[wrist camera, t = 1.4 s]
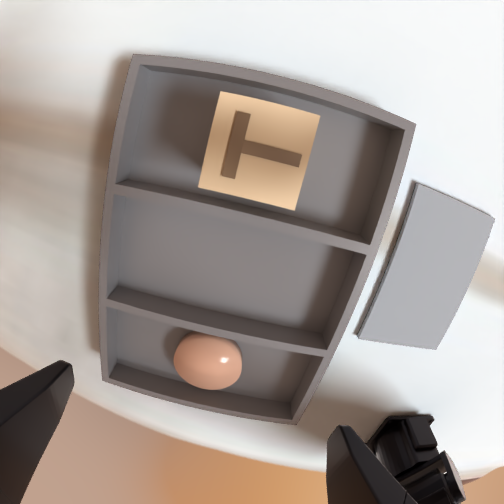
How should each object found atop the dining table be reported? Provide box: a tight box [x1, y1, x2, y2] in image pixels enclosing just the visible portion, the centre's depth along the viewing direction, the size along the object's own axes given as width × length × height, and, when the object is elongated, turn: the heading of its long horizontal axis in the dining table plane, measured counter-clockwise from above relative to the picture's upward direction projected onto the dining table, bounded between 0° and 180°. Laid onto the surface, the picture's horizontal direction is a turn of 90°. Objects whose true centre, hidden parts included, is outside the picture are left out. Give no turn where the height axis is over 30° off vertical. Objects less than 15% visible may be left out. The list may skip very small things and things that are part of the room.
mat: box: [357, 183, 495, 350], centre depth 20 cm, size 12×8×1 cm, turn 166°
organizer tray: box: [99, 54, 416, 425], centre depth 19 cm, size 23×16×2 cm
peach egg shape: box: [174, 331, 242, 390], centre depth 22 cm, size 5×5×1 cm
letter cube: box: [198, 91, 320, 211], centre depth 15 cm, size 4×4×5 cm
